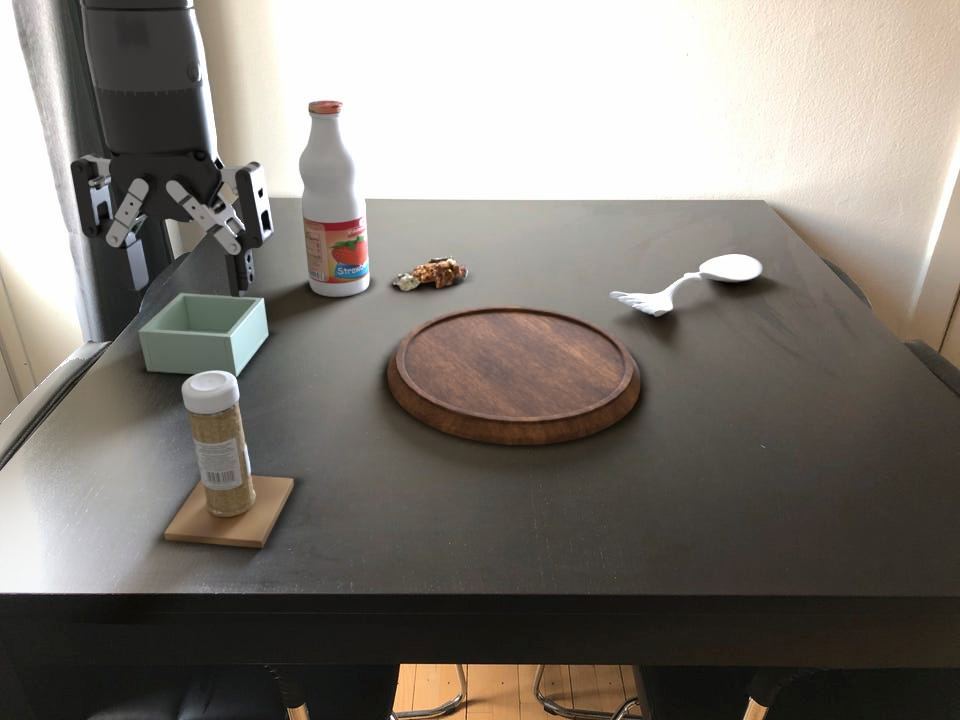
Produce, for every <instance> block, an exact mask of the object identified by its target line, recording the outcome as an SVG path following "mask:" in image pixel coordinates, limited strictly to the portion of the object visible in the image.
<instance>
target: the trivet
mask: <svg viewBox="0 0 960 720" xmlns="http://www.w3.org/2000/svg"><path fill="white" fill-rule="evenodd" d="M251 478H252V484H253V490H254V491H255V494H256V498H255V502H254V504H253V505H252V507H251V508H250V509H248V510H247V511H245V512H244V513H242V514H239V515H236V516H231V517H218V516H215V515H213V514H211V513H210V512H209V511H208V509H207V507H206V501H207V500H206V496H205V490H204V486H203V483H202V480H201V479H199V481H198V483H197V484H196V486H195V487H194V488H193V490H192V491H191V493H190V494H189V496H188V497H187V498H186V500H185V502H184V503H183V505H182V506H181V508H180V509H179V510H178V512H176V514H175V516H174V518H173V519H172V521H171V522H170V523H169V525H168V526H167V528H166V529H165V530H164V533H163V535H164V539H165V541H173V542H174V541H176V542H187V543H199V544H210V545H211V544H212V545H221V546H222V545H223V546H234V547H246V548H257V549H258V548H259V549H263V548H264V546H265V544H266V542H267V540H268V538H269V536H270V534H271V532H272V530H273V528H274V526H275V524H276V521H278V518H279V516H280V514H281V512H282V510H283V508H284V507H285V504H286V502H287V500H288V498H289V496H290V494H291V492H292V491H293V488H294V486H295V483H294V478H290V477H280V476H279V477H277V476H267V475H266V476H265V475H253V474H252V475H251Z"/></svg>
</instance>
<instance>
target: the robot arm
mask: <svg viewBox="0 0 960 720" xmlns="http://www.w3.org/2000/svg"><path fill="white" fill-rule="evenodd" d="M194 4H195V3H194V0H79V5H80V10H81V17H82V27H83V28H82V29H83V38H84V39H83V40H84V47H85V52H86V56H87V62H88V70H89V72H90V76H91V80H92V85H93V89H94V94H95V99H96V103H97V108H98V113H99V118H100V121H101V122H100V123H101V127H102V132H103V137H104V141H105V144H106V146H107V148H108V149H110V154H111V156H110V159H109V158H103V157H102V155H100V154H99V153H96V152H91V153H90V154H86V155H84V156H81V157H79V158H78V159H75V160H74V161H72V162H71V163H70V165H69V167H70V173H71V179H72V184H73V190H74V195H75V201H76V205H77V211H78V216H79V222H80V228H81V232H82V234H83V235H84V236H85V237H86V238H89V239H94V238H98V239H101V240H103V241H106V242H107V244H108V245H109V246H111V248H112V252H113V256H114V260H115V265H116V269H117V273H118V274H117V275H118V278H119V279H120V281H121V283H122V284H125V286H126V289H127V291H131V292H132V291H133V292H139V291H141V290H142V289H143V288H145V286H147V284H149V281H150V279H149V278H150V277H149V274H148V268H147V264H146V258H145V253H144V249H143V244H142V239H139V238H136V235H137V234H138V232H139V230H140V228H141V227H142V225H143V224H144V222H145V221H146V219H147V218H150V219H149V220H150V221H158V222H162V221H166V220H172V221H175V222H179V223H189V224H190V223H191V222H193V221H195V222H196V224H198V225H199V227H201V228H202V230H203V231H204V232H206V233H207V234H209V235H212V236H213V237H214V238H215V239H216V241H217V242H218V243H219V244H220V245H221V246H222V247H223V249H225V251H226V253H225V255H224V258H225V259H224V260H225V266H226V272H227V279H228V280H227V281H228V286H229V287H228V288H229V292H230V293H229V294H230V296H232V297H239V298H242V297H245V295H246V294H247V293H248V291H249V289H250V288H251V287H252V286H253V285H254V283H255V279H256V275H255V267H254V260H253V253H252V249H259V248H261V247H262V246H264V244H265V243H266V242H268V240H269V239H270V238H271V237H272V236H273V235H274V226H273V220H272V219H273V218H272V213H271V208H270V202H269V197H268V192H267V191H268V190H267V185H266V179H265V174H264V168H263V166H262V164H261V163H260V162H258V161H254V160H253V161H250V162H249V163H247V164H246V165H225V164H224V163H223V162H222V160H221V158H220V156H219V153H218V142H217V141H218V139H217V138H218V137H217V131H216V124H215V117H214V116H215V115H214V111H213V110H214V109H213V103H212V94H211V87H210V82H209V76H208V74H209V73H208V68H207V59H206V53H205V47H204V42H203V41H204V40H203V37H202V33H201V29H200V25H199V22H198V19H197V15H196V10H195V7H194ZM112 181H114V183H115V184H116V185H117V187H118V188H120V190H121V191H122V192H123V193H124V194H125V197H124V199H123V201H122V202H121V204H120V206H119V208H118V210H116V211H117V212H116V213H115V214H114V215H113V209H112V203H111V196H110V191H109V185H110V184H111V182H112ZM225 183H226V184H227V185H228V186H229V188H230V190H231V193H232V194H233V195H235V196H236V197H238V200H239V206H240V211H241V214H242V221H243V223H242V222H241V220H240V219H239V218H238V216H237V215H236V210H235V209H234V207H233V205H231V204H230V202H228V200H227V199H226V198H225V197H224V196H223V194H222V193H221V192H220V191H221V190H222V188H223V187H224V184H225ZM210 209H211V210H212V211H213V212H212V211H211V210H210Z"/></svg>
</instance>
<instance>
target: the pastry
mask: <svg viewBox="0 0 960 720" xmlns="http://www.w3.org/2000/svg"><path fill="white" fill-rule="evenodd" d="M468 273H469V271H468V269H467V268H466V265H465V264H461V267H460V266H459V263H458V261H457V260H455V258H454V255H449V256H442V257H440V258H437V257H433V258H431V259H430V260H429V261H428V262H427V264H423V265H417V266H416V267H414V268H413V271H411V272H410V273H406V272H402V273H399V274H398V275H397V278H396V279H395V281H394V282H393V285H397V286H398V287H399V288H400V290H401V291H403V292H404V291H405V292H407V291H408V292H409V291H410V290H412V289H416V288H417V287H418V285H419V284H421V283H422V284H425V283H426V284H427V283H431V282H435V286H436V289H441V288H443V287H445V286H446V287H447V286H451V285H453V282H454V278H456V277H458V276H460V277H461V278H463V279H464V278H467V276H468Z"/></svg>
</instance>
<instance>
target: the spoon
mask: <svg viewBox="0 0 960 720" xmlns="http://www.w3.org/2000/svg"><path fill="white" fill-rule="evenodd" d="M763 269H764V268H763V264H762V263H761V262H760V261H759V260H758V259H756V258H754V257H752V256H749V255H745V254H735V253H734V254H725V255H721V256H717V257H713V258H711V259H708V260H707V261H705V262H704V263H702V264H701V265H700V266H699V271H698V272H686V273H685V274H684V275H683V277H681V278H680V279H678V280H677V281H675V282H674V283H673V284H670V286H669V287H667V288H666V289H665V290H664V289H663V291H661V292H658V293H652V294H650V293H649V294H648V293H647V294H646V293H625V292H621V291H612V292H610V293H609V298H610V299H616V301H618V302H619V303H623V304H624V305H625V306H629V307H632V308H633V309H634V310H636V311H641V312H642V313H645V314H648V315H653V317H661V316H662V315H665V314H666V313H668V312H670V311H672V310H673V309H674V305H673V300H674V298H675V296H676V294H677V293H678V292H679V291H680V290H681V288H683V287H685V286H686V285H689V284H693V283H702V282H703V280H704V279H709V280H714V281H719V282H724V283H743V282H746V281H751V280H752V279H755V278H757V277H758V276H760V275H761V273H762V272H763Z"/></svg>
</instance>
